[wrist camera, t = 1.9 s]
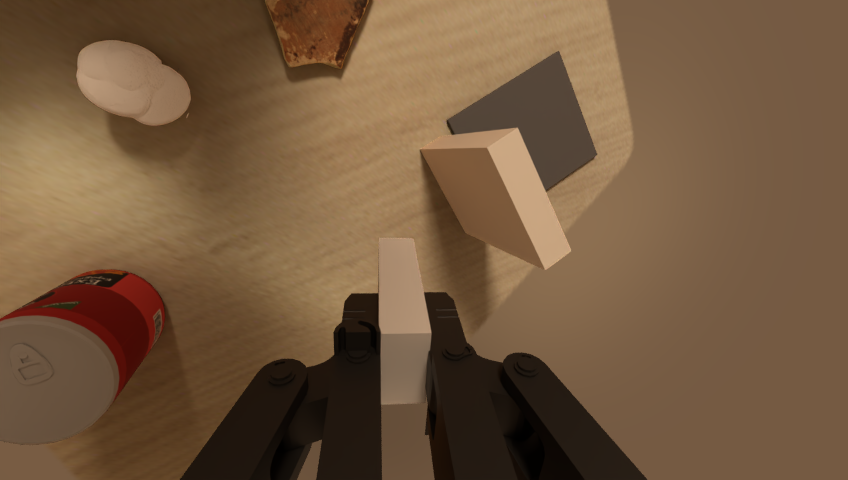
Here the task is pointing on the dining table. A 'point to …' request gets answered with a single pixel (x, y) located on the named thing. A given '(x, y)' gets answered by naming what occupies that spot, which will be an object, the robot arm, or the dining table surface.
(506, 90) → the rubber mat
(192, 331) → the dining table surface
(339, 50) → the shard
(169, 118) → the dumpling
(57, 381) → the canned food
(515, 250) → the glazed tile
